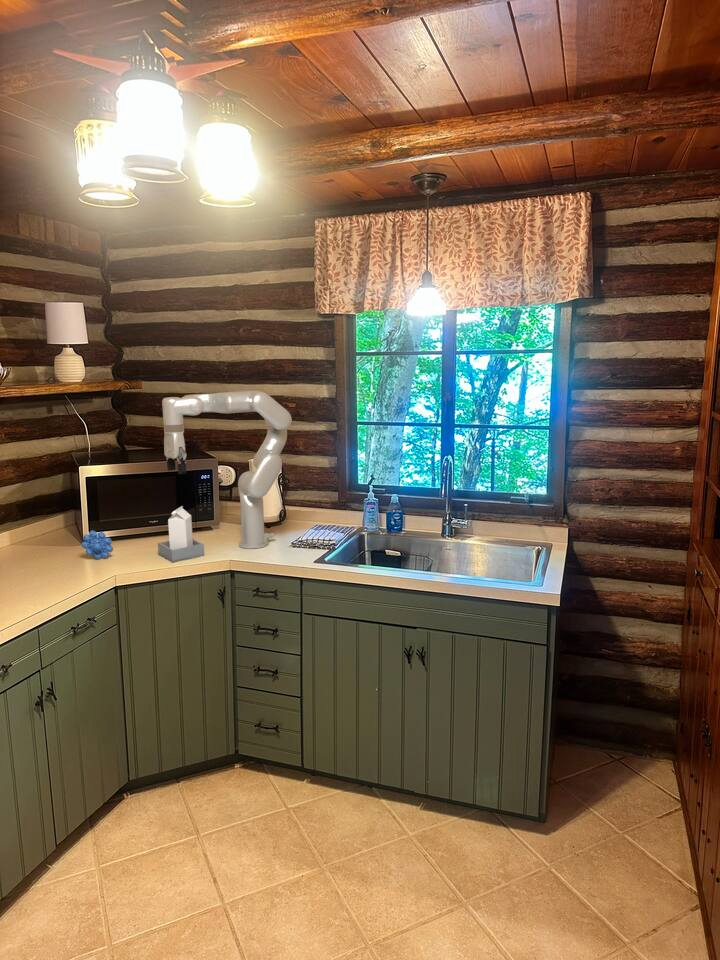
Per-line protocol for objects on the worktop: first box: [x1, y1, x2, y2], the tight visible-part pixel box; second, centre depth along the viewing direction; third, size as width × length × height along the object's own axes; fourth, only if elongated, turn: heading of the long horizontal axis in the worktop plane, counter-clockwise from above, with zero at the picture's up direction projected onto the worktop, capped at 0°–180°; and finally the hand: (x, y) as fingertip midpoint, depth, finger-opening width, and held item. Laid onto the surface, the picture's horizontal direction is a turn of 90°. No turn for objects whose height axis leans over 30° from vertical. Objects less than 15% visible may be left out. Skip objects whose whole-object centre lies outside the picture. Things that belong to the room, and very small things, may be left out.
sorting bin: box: [157, 538, 205, 563], centre depth 280 cm, size 14×14×5 cm
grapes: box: [81, 530, 114, 560], centre depth 274 cm, size 12×7×12 cm, turn 108°
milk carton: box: [167, 505, 194, 549], centre depth 278 cm, size 7×7×19 cm
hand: (176, 471), depth 274 cm, fingers open, 9 cm apart
